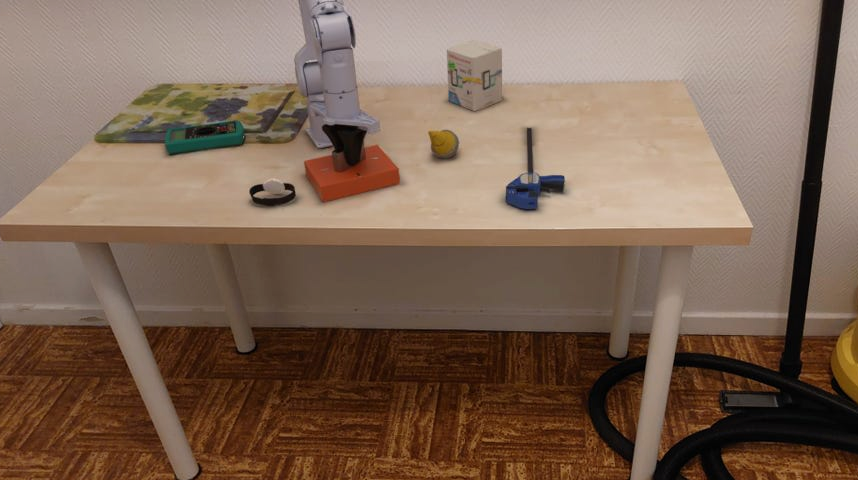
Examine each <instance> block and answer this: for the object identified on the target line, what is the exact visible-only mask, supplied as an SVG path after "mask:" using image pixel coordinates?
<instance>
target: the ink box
mask: <svg viewBox="0 0 858 480" xmlns="http://www.w3.org/2000/svg"><path fill="white" fill-rule="evenodd" d="M446 65H447V93H448V102H450V103H453V104H455V105H457V106H460V107H462V108H464V109H468V110H470V111H473V112H476V111H479V110H483V109H485V108H487V107H490V106H492V105H495V104H497V103H500V102H502V101H503V48H502V47H499V46H497V45H492V44H489V43H486V42H483V41H479V40H477V39H473V40H470V41H467V42H465V43H461V44H458V45H455V46H451V47H450V48H446Z"/></svg>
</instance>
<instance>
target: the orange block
mask: <svg viewBox="0 0 858 480" xmlns="http://www.w3.org/2000/svg"><path fill="white" fill-rule="evenodd" d="M365 153H366V159H364V160H362V161H360V162H359V163H357V164H355V165H353V166H351V167H349V168H348V169H346V170H344V171H342V172H338V171H335V170H334V165H333V158H332V154H329V155H325V156H320V157H316V158H310V159H306V160H303V165H304V172H305V176H306V178H307V179H308V181H309V182H310V184H311V185H312V187H313V189H314V190H315V192H316V193H317V195H318V197H319V198H320V200H321V201H322V203H325V202H330V201H334V200H337V199H338V200H339V199H342V198H346V197H350V196H355V195H358V194H363V193H367V192H369V191H370V192H371V191H375V190H378V189H382V188H387V187H391V186H395V185H400V183H401V181H400V172H399V168H398V166H397V165H396V164H395V162H394V161H392V159H391V158H390V157H389V156H388V155H387V153H386V152H384V150H383V149H382V148H381V147H380V146H379V145H378V144H374V145H370V146H365Z"/></svg>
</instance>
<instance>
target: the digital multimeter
mask: <svg viewBox="0 0 858 480" xmlns="http://www.w3.org/2000/svg"><path fill="white" fill-rule="evenodd" d="M244 133H245V135H244ZM243 136H244V138H243ZM245 139H246V132H245V128H244V125H243V123H242V121H240V120H237V119H233V120H226V121H221V122H214V123H205V124H199V125H191V126H190V125H189V126H182V127H181V126H180V127H172V128H169V129H168V130H167V131H166V133H165V139H164V144H165V145H164V146H165V148H166V152H167V154H170V155H175V154H181V153H183V154H184V153H189V152H197V151H205V150H210V149H220V148H227V147H233V146H241V145H242V144H243V142H244V140H245Z"/></svg>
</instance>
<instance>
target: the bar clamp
mask: <svg viewBox="0 0 858 480" xmlns="http://www.w3.org/2000/svg"><path fill="white" fill-rule="evenodd" d="M532 132H533V130H532V127H526V140H527V141H526V145H527V146H526V147H527V172H524V173H521V174H520V175H518V176H517V177H516V178H514V179H513V180H512V181H510V182H509V183H508V184H507V185H506V186H505V202H506V203H507V204H509V205H511V206H514V207H517V208H520V209H523V210H536V209H537V208H538V207H539V205H538V204H539V196H540V194H541V192H545V193H550V192H551V190H554V191H561V192H564V191H565V182H566V180H565V179H566V178H565V175H562V174H549V175H539V173H538V172H534V158H533V157H534V155H533V133H532Z"/></svg>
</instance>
